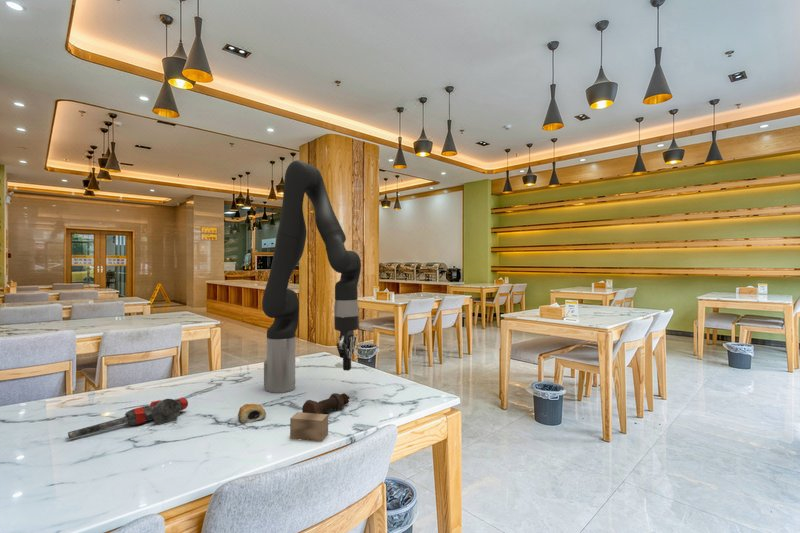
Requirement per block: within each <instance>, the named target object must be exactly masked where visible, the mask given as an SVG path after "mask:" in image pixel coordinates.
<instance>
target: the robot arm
mask: <svg viewBox="0 0 800 533" xmlns="http://www.w3.org/2000/svg"><path fill="white" fill-rule="evenodd" d="M305 195H306V196H307V198H308V200H309V201H310V203H311V204H312V207H313V211H314V219H315V220H314V221H315V226H316V228H317V231H318V233H319V234H320V238H321V239H322V241H323V244H324V246H325V251H326V257H327V259H328V263H329V265H330V267H331V268H332V269H333V271H335V272H336V273H337V274H340V279H339V280H338V281H337V282H335V285H334V306H333V307H334V308H333V310H334V312H333V314H334V316H333V317H334V319H333V320H334V325H333V326H334V330H335V331H337V332H338V331H339V336H338V342H337V343H336V348H337V351H338V352H337V353H338V355H339V357H340V358H341V359H342V368H343V371H347V372H348V371H351V369H352V357H353V355H354V351H355V347H356V342H357V336H355V333H354V331H356V330H358V329H359V328H360V327H359V326H360V325H359V322H360V321H359V320H360V318H359V301H358V300H359V299H358V298H359V297H358V284H359V281H360V275H361V269H362V262H361V258H360V256H359V254H358V253H357V252H356V251H354V250H347V249H346V246H345V242H346V239H347V237H346V234H345V231H344V230H343V228H342V226H341V223H340V222H339V219H338V218H337V216H336V213H335V211H334V209H333V206H332V204H331V201H330V197H329V195H328V191H327V188H326V184H325V182H324V178H323V176H322V173H321V172H320V170H319V168H317V167H316V166H314V165H311V164H310V163H307V162H305V161H302V160H299V159H298V160H294V161H291V163H289V165H288V166H287V168H286V169H285V174H284V183H283V194H282V196H283V198H282V205H281V210H280V217H279V224H278V229H277V234H276V237H275V245H274V252H273V256H272V262H271V266H270V271H269V275H268V278H267V281H266V285H265V288H264V292H263V295H262V301H261V306H262V311H263V313H264V314H265V316H267V317H268V318H271V319H274V320H273V322H272V324H271V325H270V326H269V327H268V328H267V330H266V360H264V362H263V391H266V392H269V393H275V394H277V393H287V392H291V391H293V390H295V389H296V333H297V330H298V328H299V327H298V326H299V316H300V314H299V312H300V303H299V302H300V301H299V296H298V295H297V293H296V292H295V290H293V289H291V288H289V283H290V278H291V276H292V274H293V272H294V270H295V268H296V267H297V265H298V264H299V262H300V261H301V258H302V256H303V254H304V251H305V245H306V240H307V235H308V234H307V226H306V222H305V215H304V210H303V209H304V207H303V205H304V199H305V198H304V197H305Z"/></svg>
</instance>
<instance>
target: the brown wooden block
mask: <svg viewBox="0 0 800 533" xmlns="http://www.w3.org/2000/svg"><path fill="white" fill-rule="evenodd" d="M289 422H290V423H289V428H290V429H289V440H298V439H301V440H302V441H310V442H311V441H313V442H320V443H321V442H323V441H324V440H325V439H326V438H327V436H328V435H329V414H327V413H326V414H325V413H322V414H315V413H302V411H301V412H299V411H298V412H296V413H294V415H292V416H291V417H290V418H289ZM301 440H300V441H301Z"/></svg>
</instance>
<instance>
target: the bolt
mask: <svg viewBox="0 0 800 533" xmlns="http://www.w3.org/2000/svg"><path fill="white" fill-rule="evenodd" d="M350 398H351V397H350V396H349V395H348V394H346V393H345V392H343V393H338V392H337V393H336V392H335V393H334V392H332V393H331V394H330V395H329V397H328V398H326V399H322V400H320V401H315V400H312V399H307V400H306V401H305V402H304V403H303V405H302V408H301V409H302V411H301V413H315V414H325V413H326V412H329V411H332V410H334V411H341V410H342V409H343V406H345V405H347V404H349V403H350Z"/></svg>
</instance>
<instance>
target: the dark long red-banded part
mask: <svg viewBox="0 0 800 533" xmlns="http://www.w3.org/2000/svg"><path fill="white" fill-rule="evenodd" d="M188 405H189V401H188V400H187V398H186V397H181V398H179V399H173V398H164V399H161V400H160V399H159V400H153V401H151V402H150V404H149V405H145V406H140V407H139V406H138V407H136V408H133V409H131V410H128V411H126V412H125V413H124V417H123V416H122V417H120V418H115V419H111V420H109V421H105V422H101V423H98V424H94V425H90V426H86V427H83V428H79V429H75V430H72V431H68V432H67V436H68V440H71V439H74V438H78V437H80V436H85V435H88V434H92V433H96V432H98V431H99V432H100V431H103V430H107V429H110V428H113V427H116V426H120V425H124V424H127V425H128V426H140V425H143V424H145V423H146V421H151V420H153V421H154V422H155V423H156V424H159V425H164V424H168V423H172V422H175V421H176V420H177V418H178V417H179V415H180V414H181V411H183V410H185V409H187V408H188V407H189V406H188Z"/></svg>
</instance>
